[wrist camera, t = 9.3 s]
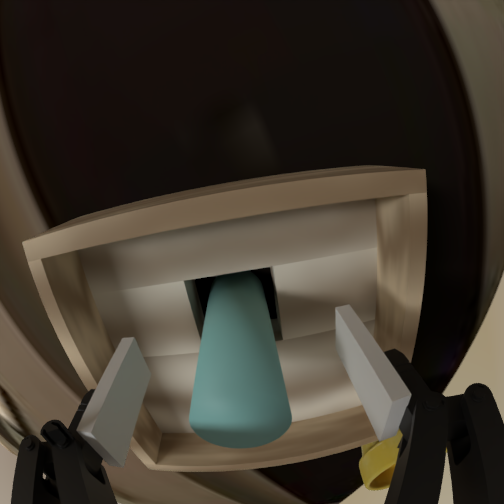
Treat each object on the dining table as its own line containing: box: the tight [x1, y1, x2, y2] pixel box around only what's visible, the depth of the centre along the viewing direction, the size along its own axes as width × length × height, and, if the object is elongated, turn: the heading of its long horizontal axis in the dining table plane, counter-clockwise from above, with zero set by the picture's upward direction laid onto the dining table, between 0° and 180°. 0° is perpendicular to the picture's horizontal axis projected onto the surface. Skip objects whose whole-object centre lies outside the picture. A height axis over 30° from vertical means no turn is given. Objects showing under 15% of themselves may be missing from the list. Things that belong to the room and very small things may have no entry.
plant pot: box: [359, 429, 447, 490], centre depth 22 cm, size 10×10×10 cm
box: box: [22, 165, 427, 472], centre depth 18 cm, size 22×22×7 cm
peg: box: [189, 270, 292, 448], centre depth 15 cm, size 4×4×12 cm
